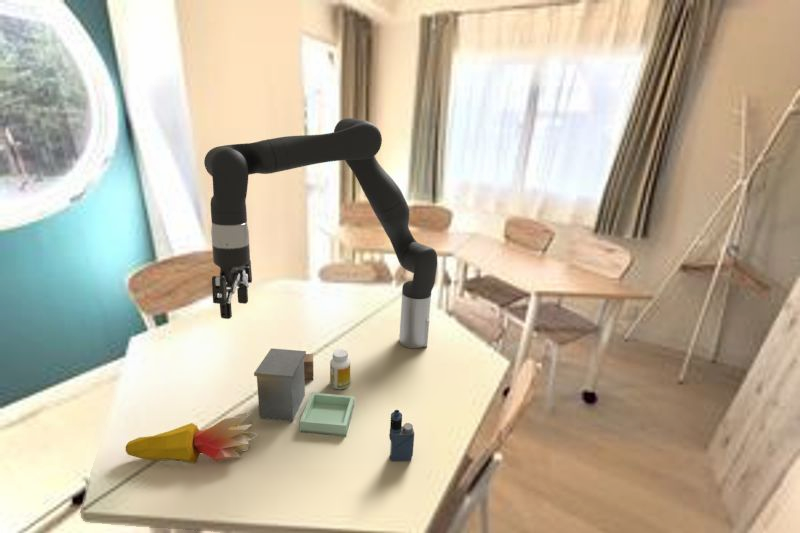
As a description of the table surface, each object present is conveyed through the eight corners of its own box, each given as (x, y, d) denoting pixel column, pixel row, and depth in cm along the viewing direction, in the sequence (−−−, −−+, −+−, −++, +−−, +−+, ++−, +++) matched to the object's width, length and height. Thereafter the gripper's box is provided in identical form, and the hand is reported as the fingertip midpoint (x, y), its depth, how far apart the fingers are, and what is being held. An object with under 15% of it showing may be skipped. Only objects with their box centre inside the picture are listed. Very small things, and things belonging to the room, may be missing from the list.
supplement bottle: (353, 380, 113) (354, 350, 110) (344, 391, 109) (345, 360, 105) (335, 376, 115) (335, 345, 112) (326, 387, 110) (326, 355, 107)
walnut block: (313, 372, 116) (313, 353, 114) (313, 380, 113) (313, 361, 111) (298, 373, 116) (298, 354, 114) (298, 381, 112) (297, 362, 110)
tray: (354, 406, 103) (354, 396, 102) (346, 436, 93) (346, 425, 92) (312, 402, 104) (312, 392, 103) (300, 432, 94) (299, 421, 93)
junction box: (306, 394, 107) (305, 351, 103) (294, 422, 97) (292, 376, 92) (273, 391, 107) (271, 348, 103) (257, 419, 97) (253, 372, 93)
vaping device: (387, 453, 89) (390, 407, 85) (411, 452, 90) (415, 406, 86) (388, 462, 87) (391, 415, 83) (413, 461, 87) (416, 415, 83)
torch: (138, 470, 86) (260, 447, 90) (117, 484, 78) (252, 458, 82) (135, 429, 87) (256, 408, 91) (114, 439, 79) (248, 416, 83)
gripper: (232, 252, 83) (237, 325, 88) (260, 235, 96) (263, 299, 101) (196, 249, 83) (203, 322, 88) (229, 233, 96) (233, 296, 101)
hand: (235, 310), depth 95 cm, fingers open, 8 cm apart
